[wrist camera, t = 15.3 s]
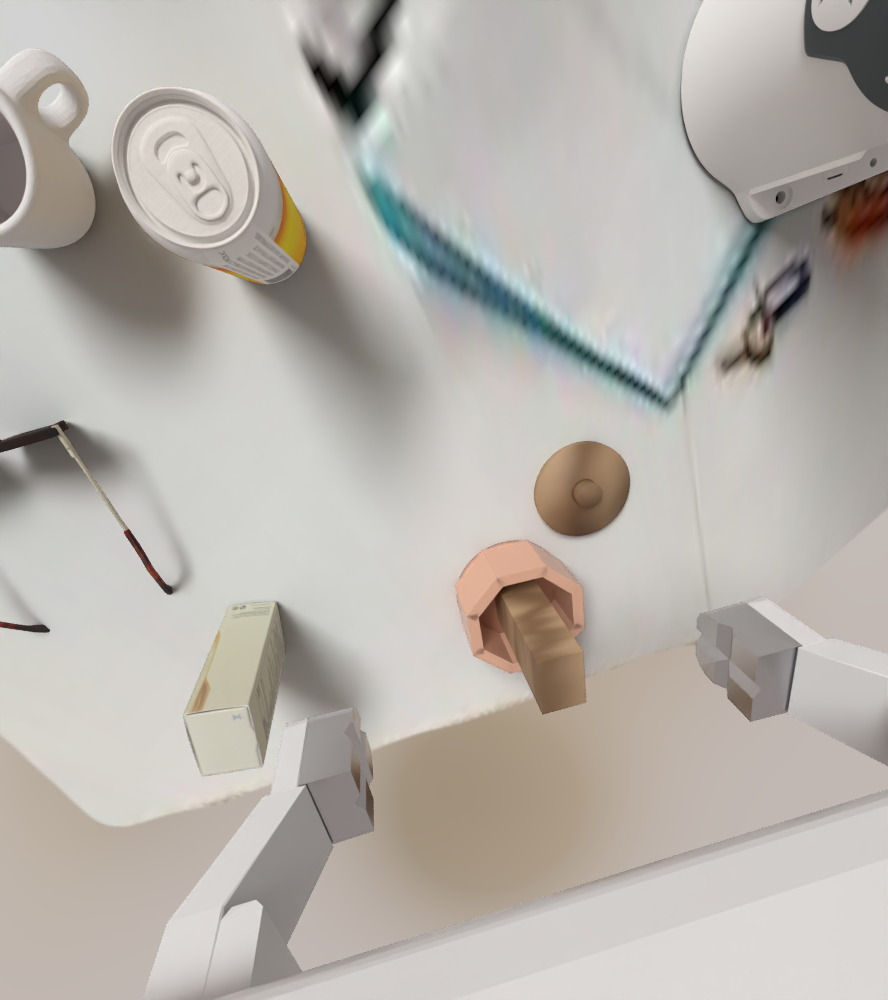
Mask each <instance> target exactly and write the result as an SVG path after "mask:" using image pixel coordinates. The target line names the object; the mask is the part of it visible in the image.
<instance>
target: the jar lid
mask: <svg viewBox="0 0 888 1000" xmlns="http://www.w3.org/2000/svg"><path fill="white" fill-rule="evenodd" d="M629 487H630V476H629V471H628V467H627V465H626V463H625V461H624V460H623V458H622V457H621V456H620V455H619V454H618V453H617V452H616V451H615V450H613V449H611V448H610V447H608V446H606V445H603V444H601V443H597V442H591V441H584V442H577V443H574V444H570V445H568V446H566V447H564V448H562V449H561V450H559V451H558V452H556V453H555V454H554V455H553V456H552V457H551V458H550V459H548V461H547V462H546V463H545V464H544V466H543V467H542V469H541V471H540V473H539V475H538V477H537V480H536V484H535V489H534V500H535V505H536V508H537V511H538V513H539V515H540V516H541V517H542V519H543V520H544V521H545V522H546V523H547V524H548V525H549V526H550V527H551V528H552V529H554V530H555V531H557V532H559V533H562V534H565V535H571V536H579V535H586V534H590V533H593V532H595V531H597V530H599V529H601V528H603V527H604V526H606V525H607V524H608V523H610V522H611V521H612V520H613V519H614V518H615V517H616V516H617V514H618V513H619V512H620V510H621V509H622V507H623V505H624V504H625V501H626V499H627V496H628V493H629Z"/></svg>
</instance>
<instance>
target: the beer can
mask: <svg viewBox="0 0 888 1000" xmlns="http://www.w3.org/2000/svg"><path fill="white" fill-rule="evenodd" d="M111 154H112V164H113V168H114V173H115V176H116V179H117V183H118V186H119V189H120V192H121V194H122V197H123V199H124V201H125V203H126V205H127V207H128V209H129V211H130V212H131V214H132V215H133V217H134V218H135V220H136V221H137V222H138V223H139V225H140V226H141V227H142V228H143V229H144V230H145V231H146V233H147V234H148V235H149V236H150V237H152V238H153V239H154V240H155V241H156V242H157V243H159V244H160V245H162V246H163V247H164V248H166V249H167V250H169V251H171V252H173V253H174V254H177V255H179V256H181V257H183V258H186V259H189V260H192V261H195V262H197V263H200V264H203V265H206V266H209V267H211V268H214V269H217V270H220V271H223V272H225V273H228V274H231V275H234V276H237V277H240V278H242V279H245V280H248V281H251V282H254V283H259V284H274V283H278V282H281V281H283V280H285V279H287V278H289V277H290V276H291V275H292V274H294V272H295V271H296V270H297V269H298V268H299V266H300V264H301V263H302V261H303V258H304V255H305V251H306V231H305V226H304V223H303V220H302V217H301V215H300V213H299V211H298V209H297V208H296V206H295V204H294V202H293V200H292V199H291V197H290V195H289V193H288V191H287V189H286V188H285V186H284V184H283V182H282V180H281V178H280V177H279V175H278V173H277V171H276V169H275V167H274V166H273V164H272V162H271V160H270V158H269V157H268V155H267V153H266V151H265V149H264V147H263V146H262V144H261V142H260V140H259V139H258V137H257V136H256V134H255V132H254V131H253V130H252V128H251V127H250V126H249V125H248V123H247V122H246V121H245V120H244V119H243V118H242V117H241V116H240V115H239V114H238V113H237V112H236V111H235V110H233V109H232V108H231V107H230V106H228V105H227V104H225V103H224V102H222V101H221V100H219V99H217V98H215V97H214V96H212V95H209V94H207V93H204V92H202V91H198V90H195V89H190V88H184V87H161V88H155V89H151V90H148V91H146V92H144V93H141V94H140V95H138V96H137V97H135V98H134V99H133V100H132V101H130V102H129V103H128V104H127V105H126V107H125V108H124V109H123V110H122V112H121V114H120V116H119V117H118V120H117V122H116V124H115V127H114V131H113V136H112V144H111Z"/></svg>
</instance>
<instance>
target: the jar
mask: <svg viewBox="0 0 888 1000" xmlns="http://www.w3.org/2000/svg"><path fill="white" fill-rule="evenodd" d="M532 579H535V581H536V582H537V584H538V585H539V587H540V588H541V590H542V591H543V593H544V594H545V596H546V597H547V598H548V600H549V601H550V603H551V604H552V606H553V607H554V609H555V610H556V612H557V613H558V615H559V616H560V618H561V619H562V621H563V622H564V624H565V625H566V626H567V628H568V629H569V631H570V632H571V634H572V635H573V637H574V638H576V637H577V636H578V634H579V633H580V632H581V631H582V630H583V629H584V628H585V626H584V608H583V590H582V586H581V585H580V584H579V583H578V582H577V580H576V579H575V578H574V577H573V576H572V574H571V573H570V572H569V571H568V570H567V568H566V567H565V566H564V565H563V564H562V563H561V561H560V560H558V559H557V558H555V557H553V556H552V555H550V554H549V553H548V552H547V551H546V550H544V549H543V548H542V547H540V546H538V545H536V544H533V543H531V542H529V541H528V540H524V541H507V542H502V543H498V544H495V545H493V546H491V547H488V548H487V549H485V550H482V551H481V552H480V553H479V554H478V555H476V556H475V557H474V558H473V559H472V560H471V561H470V562H469V563H468V565H467V566H466V567H465V569H464V570H463V572H462V574H461V576H460V579H459V581H458V583H457V584H456V585H455V587H456V592H457V602H458V606H459V609H460V614H461V619H462V624H463V627H464V630H465V633H466V636H467V639H468V641H469V644H470V647H471V650H472V653H473V656H475V657H477V658H479V659H481V660H483V661H485V662H487V663H489V664H492V665H494V666H496V667H498V668H500V669H502V670H504V671H506V672H508V673H510V674H511V673H514V672H518V671H522V669H521V667H520V665H519V663H518V661H517V659H516V657H515V654H514V652H513V650H512V648H511V646H510V644H509V642H508V639H507V637H506V635H505V633H504V631H503V629H502V627H501V625H500V622H499V620H498V616H497V609H496V602H495V596H496V595H497V594H498V592H499V591H500V590H501V589H502V587H504V586H508V585H512V584H516V583H520V582H524V581H528V580H532Z"/></svg>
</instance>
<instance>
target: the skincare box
mask: <svg viewBox="0 0 888 1000" xmlns="http://www.w3.org/2000/svg"><path fill="white" fill-rule="evenodd" d="M285 654H286V650H285V643H284V637H283V631H282V626H281V620H280V616H279V611H278V607H277V603H276V602H263V603H252V604H242V605H235V606H229V607H228V609H227V611H226V614H225V616H224V618H223V621H222V623H221V626H220V628H219V631H218V633H217V636H216V638H215V640H214V643H213V645H212V647H211V650H210V652H209V654H208V657H207V659H206V662H205V664H204V667H203V669H202V671H201V674H200V676H199V679H198V681H197V683H196V686H195V688H194V691H193V693H192V695H191V698H190V700H189V702H188V705H187V707H186V709H185V712H184V714H183V719H184V724H185V728H186V732H187V736H188V739H189V742H190V745H191V748H192V751H193V754H194V757H195V760H196V762H197V765H198V768H199V770H200V773H201V775H202V776H210V775H217V774H224V773H232V772H238V771H246V770H252V769H260V768H262V767H263V764H264V759H265V754H266V749H267V744H268V739H269V734H270V729H271V724H272V719H273V714H274V709H275V704H276V699H277V694H278V689H279V684H280V679H281V674H282V668H283V664H284V659H285Z"/></svg>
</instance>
